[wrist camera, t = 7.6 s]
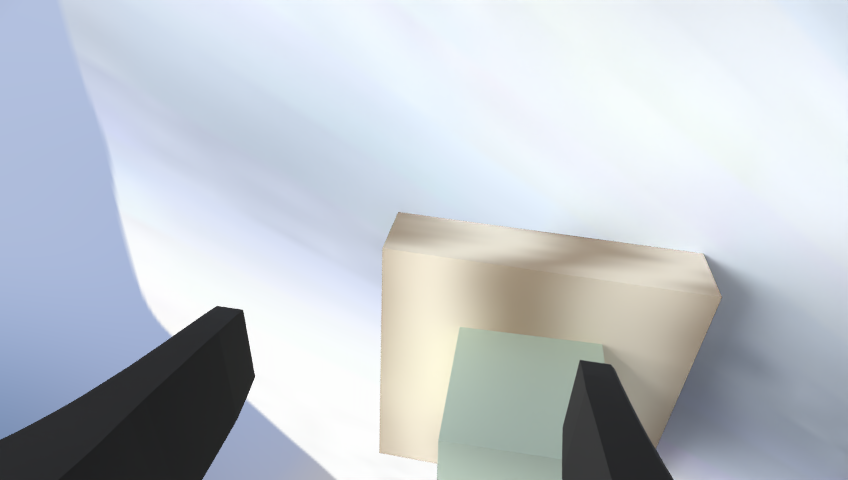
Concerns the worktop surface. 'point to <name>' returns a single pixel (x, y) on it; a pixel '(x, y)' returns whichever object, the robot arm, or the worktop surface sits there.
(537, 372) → the sage cube
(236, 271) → the worktop surface
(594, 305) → the birch block
